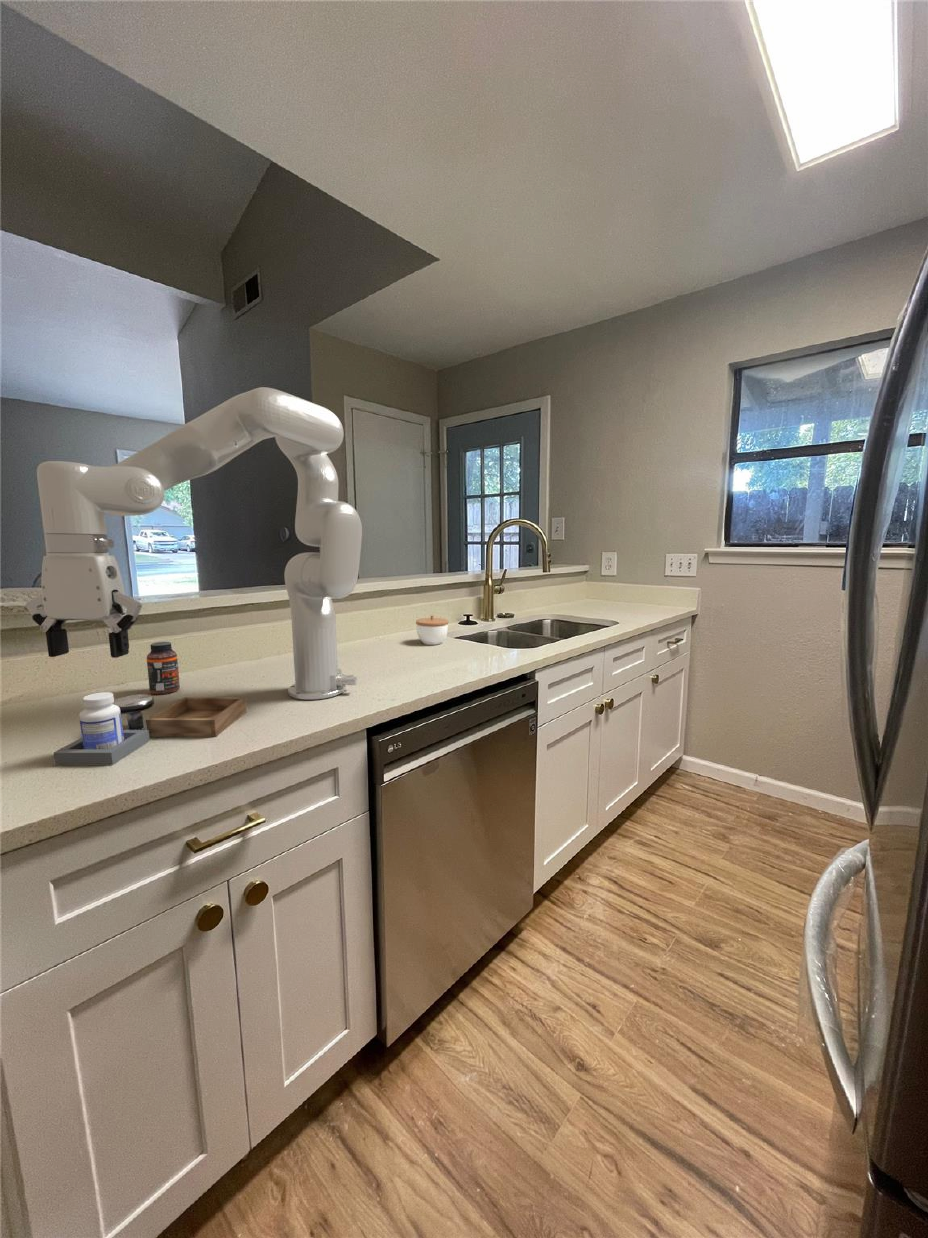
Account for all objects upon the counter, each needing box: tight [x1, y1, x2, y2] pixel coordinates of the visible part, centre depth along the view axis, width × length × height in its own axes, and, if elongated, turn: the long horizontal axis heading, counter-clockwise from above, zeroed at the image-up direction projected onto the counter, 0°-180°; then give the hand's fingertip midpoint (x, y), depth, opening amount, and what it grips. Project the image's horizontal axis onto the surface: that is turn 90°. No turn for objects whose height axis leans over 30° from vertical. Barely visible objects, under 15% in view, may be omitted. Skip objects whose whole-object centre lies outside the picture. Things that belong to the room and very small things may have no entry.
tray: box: [145, 696, 247, 738], centre depth 92 cm, size 12×12×3 cm
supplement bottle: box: [146, 641, 181, 695], centre depth 111 cm, size 6×6×11 cm
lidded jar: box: [415, 614, 449, 646], centre depth 162 cm, size 11×11×9 cm
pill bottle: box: [78, 691, 124, 749], centre depth 79 cm, size 5×5×10 cm
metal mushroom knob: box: [113, 693, 155, 730], centre depth 90 cm, size 6×6×6 cm
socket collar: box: [53, 729, 151, 766], centre depth 80 cm, size 9×9×2 cm
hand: (89, 655), depth 77 cm, fingers open, 9 cm apart
